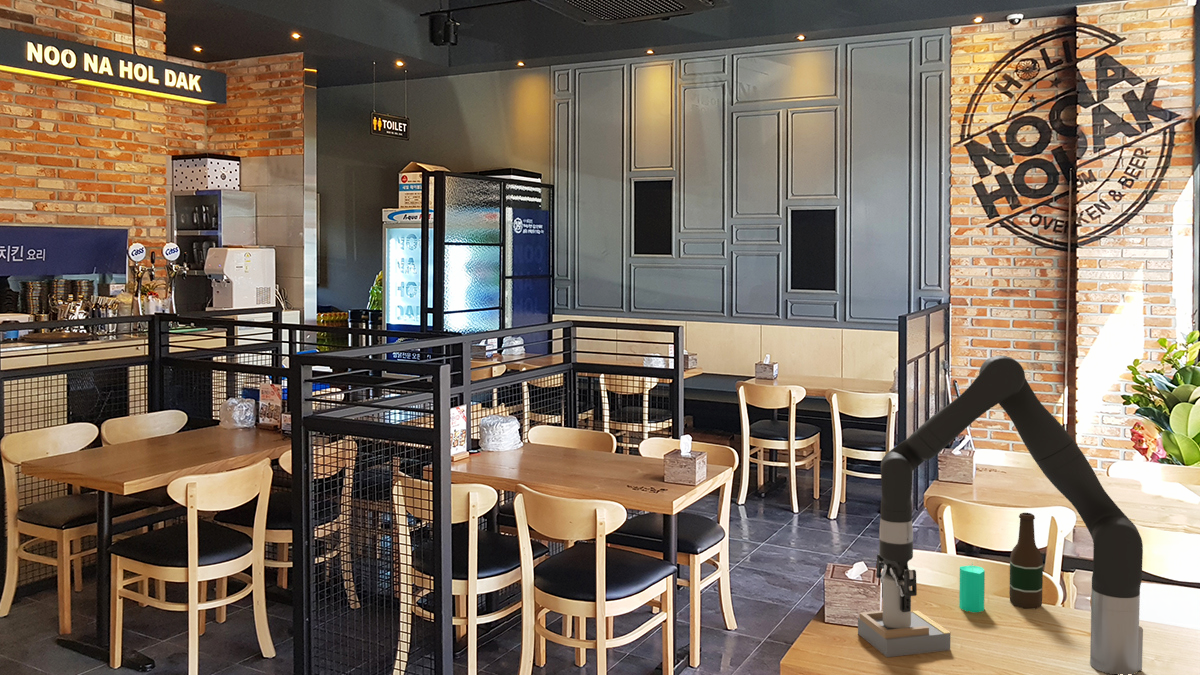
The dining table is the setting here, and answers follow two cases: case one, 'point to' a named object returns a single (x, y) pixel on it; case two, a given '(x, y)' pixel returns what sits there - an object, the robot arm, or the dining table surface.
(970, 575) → the candle
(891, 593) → the beverage can
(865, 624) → the dock
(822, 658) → the dining table surface
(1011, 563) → the beer bottle
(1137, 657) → the robot arm
